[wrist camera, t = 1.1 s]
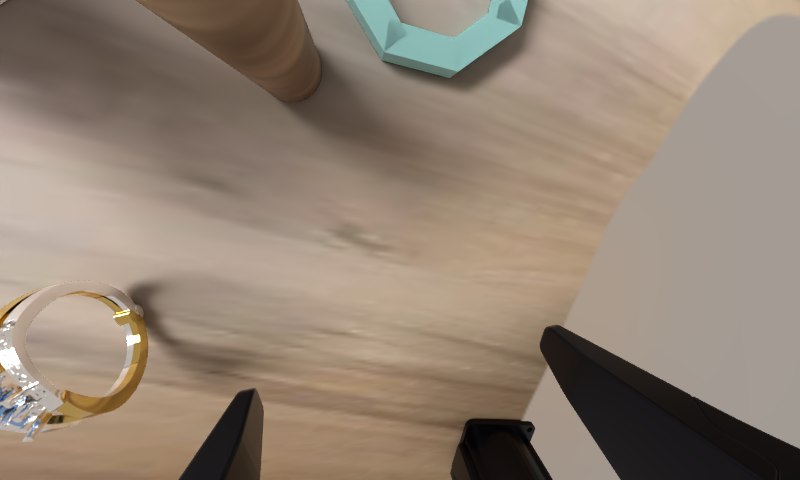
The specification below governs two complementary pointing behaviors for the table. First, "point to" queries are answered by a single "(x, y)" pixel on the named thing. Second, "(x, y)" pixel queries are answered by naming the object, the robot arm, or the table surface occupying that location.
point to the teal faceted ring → (435, 36)
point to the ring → (34, 394)
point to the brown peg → (252, 40)
